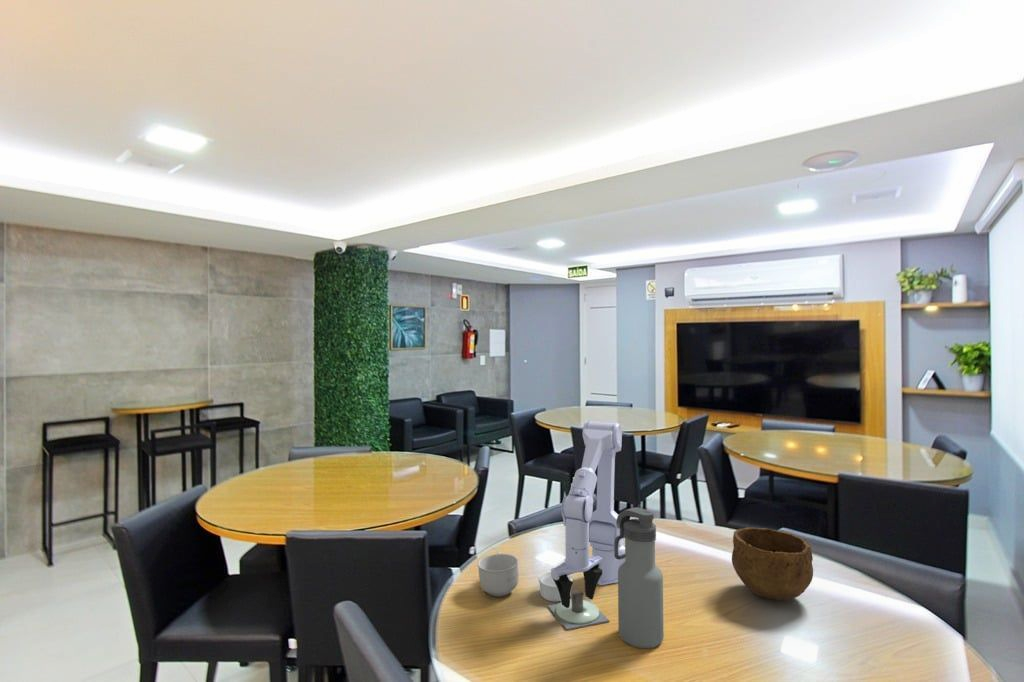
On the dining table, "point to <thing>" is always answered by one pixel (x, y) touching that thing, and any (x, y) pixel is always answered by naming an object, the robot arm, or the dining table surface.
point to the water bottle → (639, 581)
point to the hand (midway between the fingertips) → (577, 601)
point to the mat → (567, 625)
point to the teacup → (498, 573)
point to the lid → (578, 610)
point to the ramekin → (549, 587)
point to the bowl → (772, 562)
